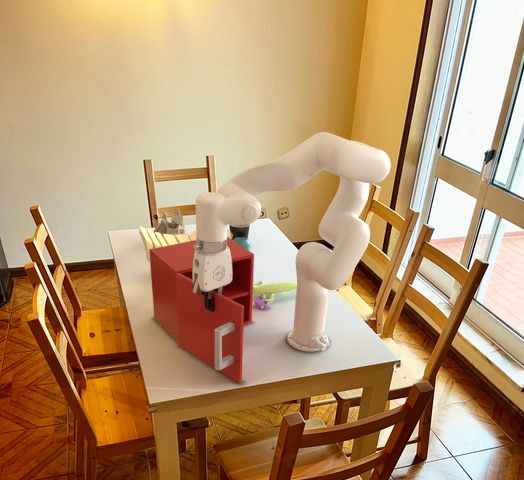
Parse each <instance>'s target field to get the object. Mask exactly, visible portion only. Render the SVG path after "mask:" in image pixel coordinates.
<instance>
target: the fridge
mask: <svg viewBox="0 0 524 480" xmlns="http://www.w3.org/2000/svg"><path fill="white" fill-rule="evenodd" d="M196 243H197V242H196V240H194V241H189V242H184V243H179V244H174V245H169V246H163V247H158V248H153V249H149V253H150V262H149V264H150V279H151V292H152V305H153V307H152V308H153V319H154V320H155V321H156V322H157V323H158V324H159V325H160V326H161V327H162V328H163V330H165V332H167V333H168V334H169V335H170V336H171V337H172V338H173V339H174V341H176V343H177V344H179V331H178V310H177V288H176V273H180V274H182V275H184V276H186V277H188V278H190V279H192V280H193V260H194V254H195V249H194V244H196ZM227 246H228V247H229V250H230V254H231V260H232V281H231V282H230V283H229V284H227V285H226V286H225V287H224V288H223V290H222V294H221V295H223V296H225V297H227V298H229V299H231V300H233V301H235V302H237V303H239V304H241V305H243V306H244V320H243V326H246V325H249V324H252V322H253V295H254V293H253V285H254V269H255V268H254V266H255V264H254V263H255V254H254V253H253V252H252V251H251V250H250V249H249V250H247V249H245V248H244V247H242V246H241V245H239V244H238V243H236V242H235V241H233V240H232V239H230V238H228V237H227Z"/></svg>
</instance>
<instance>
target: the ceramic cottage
mask: <svg viewBox="0 0 524 480" xmlns="http://www.w3.org/2000/svg"><path fill="white" fill-rule="evenodd" d="M161 215H162V216H161V217H162V219H161V220H160V222H159V223H158V224H157V226H155V227H154V230H153V233H154V234H155V232H158V233H160V234H161V235H162V237H163V234H170V235H173V236H174V237H175V235H179V234H186V235H187V231H186V230H185V228H186V227H185V221H184V215H183V214H181V211H180V208H179V207H178V208H177V209H176V210H175V211H174V213H172V214H171V218H170V219H171V221H170V222H169V221H168V216H167V212H166V211H163V212H162V214H161ZM175 239H176V237H175ZM176 240H177V239H176ZM177 242H178V241H177ZM178 244H179V243H178Z"/></svg>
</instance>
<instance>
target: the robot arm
mask: <svg viewBox="0 0 524 480" xmlns="http://www.w3.org/2000/svg"><path fill="white" fill-rule="evenodd" d="M390 169H391V161H390V157H389V155H388V154H387V153H386V152H385V151H383V150H382V149H379V148H376V147H374V146H372V145H368V144H366V143H363V142H361V141H357V140H349V139H347V138H345V137H342V136H339V135H336V134H334V133H331V132H327V131H320V132H317V133H315V134H314V135H312V136H310V137H309V138H308V139H306V140H305V141H302V142H301V143H300V144H299V145H297V146H296V147H294V148H293V149H291V150H289V151H288V152H286V153H285V154H284V155H282V156H280V157H278V158H277V159H275V160H272V161H268V162H264V163H261V164H259V165H255V166H252V167H248V168H247V169H244V170H243V171H240V172H239V173H237V174H236V175H234V176H233V177H231V178H230V179H228V180H227V181H225V182H224V183H223V184H222V185H221V186H220V187H219V188H218V190H217V192H213V191H210V192H209V191H208V192H203V193H199V194H198V195H197V197H196V198H195V231H196V242H197V243H196V244H194V249H195V254H194V260H193V285H194V289H193V293H195V294H196V295H203V296H204V306H205V309H207V310H209V311H210V312H213V311H214V298H212V290H213V291H215V292H217V293H219V294H222V290H223V288H224V287H225V286H226V285H227V284H229V283H230V282H231V281H232V260H231V254H230V250H229V247H228V246H227V229H228V226H229V225H248V224H250V225H252V224H253V223H255V222H256V221H257V220H258V219H259V218H260V216H261V213H262V206H261V203H260V202H259V200H258V199H257V198H256V197H255V196H257V195H260V194H262V193H266V192H289V191H295V190H297V189H299V188H300V187H301V186H302V185H304V184H305V183H307V182H308V181H310V180H311V179H313V178H314V177H316V176H317V175H319V174H320V173H322V172H323V171H326V172H328V173H330V174H332V175H335V176H338V177H339V185H338V189H337V190H336V193H335V195H334V197H333V199H332V200H331V203H330V204H329V206H328V208H327V209H326V211H325V213H324V215H323V217H322V218H321V220H320V222H319V225H318V234H319V236H320V237H321V238H322V239H323V240H324V241H325V242H327V243H328V244H330V245H331V246H332V247H333V248H332V249H330V248H329V247H327V246H325V245H324V244H322V243H319V242H317V241H309V242H306V243H304V244H302V245H301V247H300V248H299V249H298V250H297V253H296V255H295V273H296V282H297V288H296V289H295V290H296V293H295V302H294V313H293V324H292V325H293V326H292V330H290V331H289V332H288V334H287V337H286V338H287V339H286V340H287V343H288V344H289V345H290V346H291V347H292V348H294V349H296V350H299V351H301V352H306V353H307V352H309V353H310V352H311V353H312V352H319V351H322V352H325V351H326V350H327V348H328V347H329V346H330V344H331V342H330V341H329V337H328V336H327V332H325V328H326V327H325V326H326V320H327V313H328V312H327V311H328V304H329V303H328V302H329V296H330V291H335V290H338V289H340V288H341V287H343V286H344V285H345V284H346V283H347V281H348V280H349V279H350V277H351V275H352V274H353V272H354V270H355V268H356V267H357V265H358V264H359V263H360V260H361V258H362V257H363V255H364V253H366V250H367V248H368V246H369V243H370V239H371V231H370V228H369V226H368V224H367V223H365V222H364V221H363V220H362V219H360V218H359V217H360V215H361V213H362V212H363V210H364V208H365V206H366V204H367V202H368V198H369V192H370V185H376V184H379V183H380V182H382V181H383V180H385V179H386V178H387V176H388V175H389V173H390Z"/></svg>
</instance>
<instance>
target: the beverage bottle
mask: <svg viewBox="0 0 524 480" xmlns="http://www.w3.org/2000/svg"><path fill="white" fill-rule="evenodd" d="M235 236H236V237H237V238H235V239H234V240H233V241H235V242H236V243H238V244H239V245H241V246H242V247H244V248H245V249H247V250H249V251H250V244H251V242H250V240H249V238H248V239H247V238H245V237H246V236H247V230H246V229H243V228H239V229H236V233H235Z"/></svg>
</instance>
